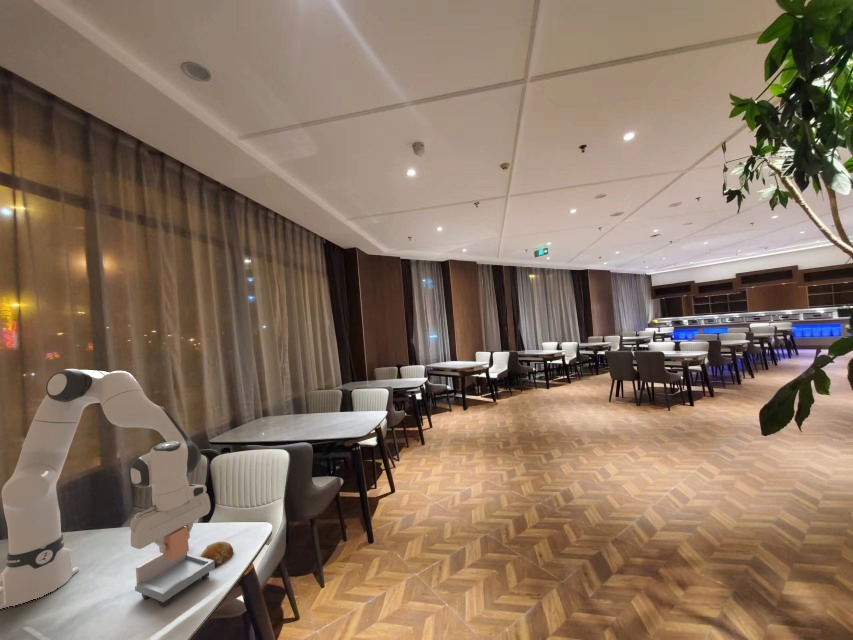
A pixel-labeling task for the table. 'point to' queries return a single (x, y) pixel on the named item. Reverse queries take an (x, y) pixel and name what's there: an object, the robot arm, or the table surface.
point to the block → (176, 544)
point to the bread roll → (218, 552)
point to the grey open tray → (170, 575)
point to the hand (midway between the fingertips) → (175, 545)
